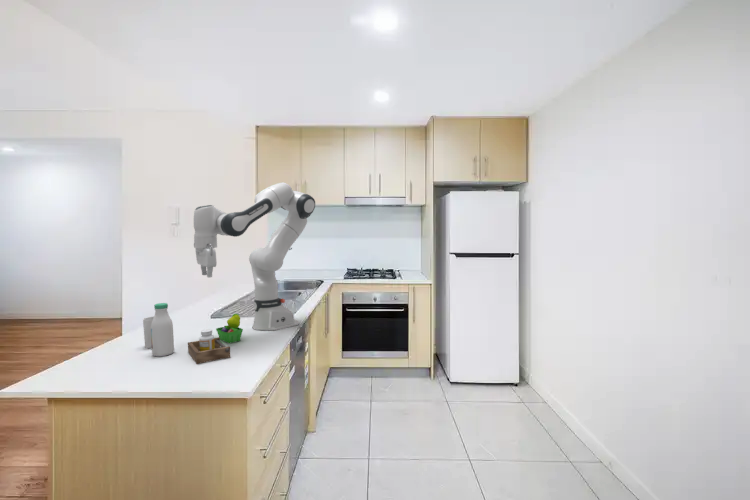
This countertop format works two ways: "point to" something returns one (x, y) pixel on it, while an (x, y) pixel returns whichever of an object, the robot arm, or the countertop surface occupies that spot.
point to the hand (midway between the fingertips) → (206, 276)
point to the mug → (147, 331)
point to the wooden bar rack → (208, 352)
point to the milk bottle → (162, 331)
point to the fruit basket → (231, 330)
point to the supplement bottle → (206, 340)
